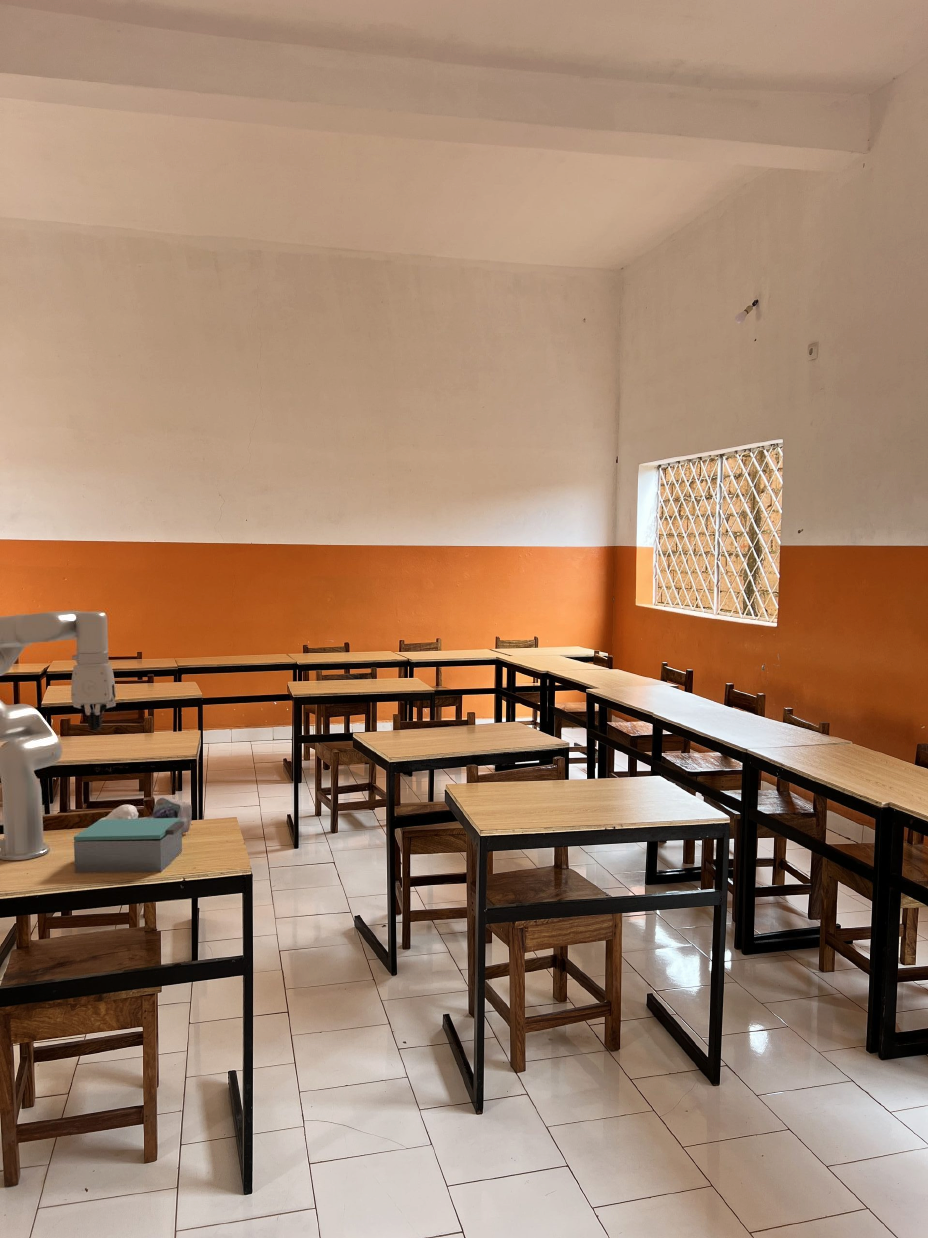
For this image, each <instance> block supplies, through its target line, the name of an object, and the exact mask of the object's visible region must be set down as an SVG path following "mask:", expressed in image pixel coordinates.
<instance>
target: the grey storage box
mask: <svg viewBox="0 0 928 1238" xmlns="http://www.w3.org/2000/svg"><path fill="white" fill-rule="evenodd" d="M182 837H183V836H182V831H181V829H180V830H178V831H177V832H176V833H175V834H174V835H165V836H163V837H162V838H161V839H135V840H87V841H74V840H73V852H74V853H73V855H74V873H75V874H77V873H80V874H82V873H85V874H87V873H88V874H89V873H91V874H92V873H96V874H97V873H162V872H163V871H164V870H166V868H167V867H169V866H170V865H171V863H173V862H172V861H173V860H174V859H175V858H176V857H177V856H178V855H179V854H180V853H181V852H182V853H183V842H182V841H183V838H182ZM182 853H181V854H182ZM181 854H180V855H181ZM180 855H179V856H180ZM179 856H178V857H179ZM178 857H177V858H178ZM177 858H176V859H177ZM176 859H175V860H176ZM175 860H174V861H175Z"/></svg>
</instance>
